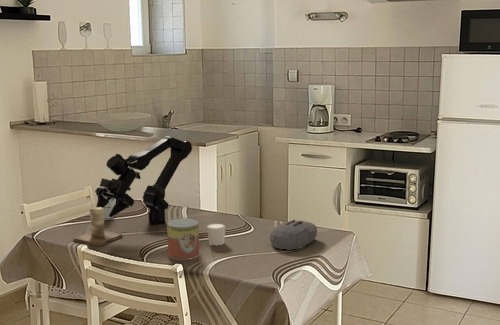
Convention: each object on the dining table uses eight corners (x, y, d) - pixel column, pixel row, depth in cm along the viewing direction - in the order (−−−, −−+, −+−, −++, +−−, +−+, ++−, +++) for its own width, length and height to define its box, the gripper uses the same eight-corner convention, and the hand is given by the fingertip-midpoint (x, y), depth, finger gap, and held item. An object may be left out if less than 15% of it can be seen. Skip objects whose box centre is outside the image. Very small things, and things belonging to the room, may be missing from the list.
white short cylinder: (228, 241, 238) (228, 224, 236) (221, 247, 231) (221, 229, 230) (211, 240, 240) (211, 222, 239) (204, 245, 233) (204, 227, 232)
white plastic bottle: (112, 218, 270) (111, 186, 268) (99, 218, 270) (97, 186, 268) (115, 215, 276) (114, 183, 273) (102, 215, 276) (100, 183, 273)
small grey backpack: (288, 234, 247) (261, 247, 231) (288, 213, 246) (261, 226, 229) (322, 240, 239) (297, 255, 223) (323, 219, 237) (297, 232, 221)
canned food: (174, 262, 216) (173, 228, 214) (163, 252, 226) (162, 220, 224) (204, 256, 221) (203, 224, 219) (192, 247, 231) (191, 216, 229)
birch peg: (106, 234, 244) (105, 207, 242) (101, 238, 239) (100, 210, 237) (94, 233, 245) (93, 206, 243) (89, 237, 240) (87, 210, 238)
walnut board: (97, 232, 251) (97, 229, 250) (122, 237, 244) (122, 234, 244) (73, 241, 240) (73, 238, 239) (99, 246, 233) (98, 243, 233)
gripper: (97, 167, 249) (75, 199, 243) (126, 173, 237) (103, 207, 231) (114, 182, 256) (93, 214, 250) (143, 189, 244) (122, 223, 238)
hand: (102, 214), depth 242 cm, fingers open, 9 cm apart
